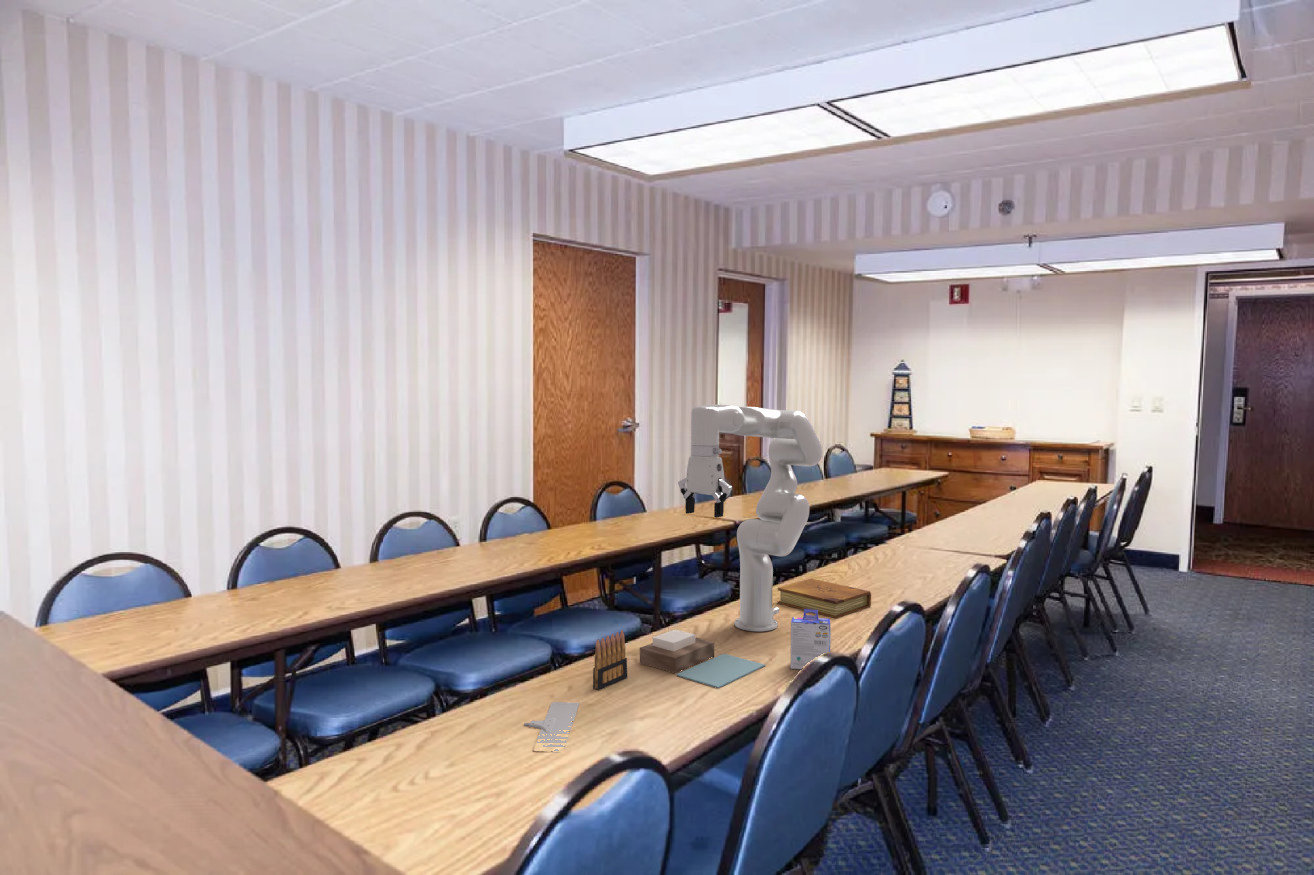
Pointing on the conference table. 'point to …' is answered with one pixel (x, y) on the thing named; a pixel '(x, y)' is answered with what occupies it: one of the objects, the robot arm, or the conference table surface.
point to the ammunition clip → (609, 662)
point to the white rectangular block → (674, 640)
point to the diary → (824, 597)
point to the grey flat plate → (556, 722)
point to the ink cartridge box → (809, 638)
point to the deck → (677, 656)
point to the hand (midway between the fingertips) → (704, 515)
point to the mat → (720, 670)
